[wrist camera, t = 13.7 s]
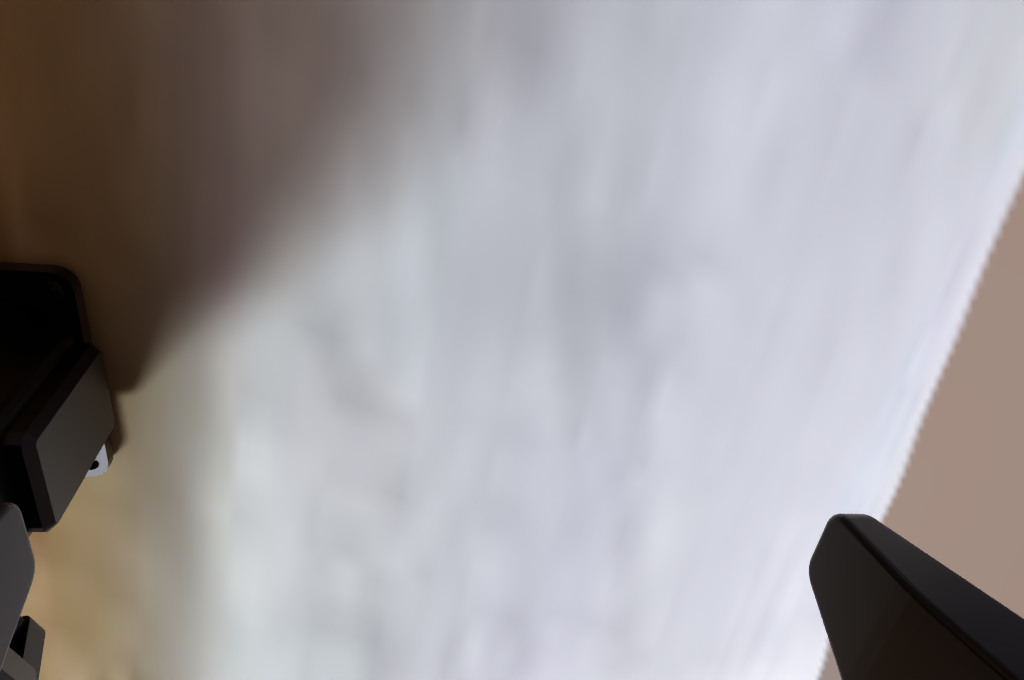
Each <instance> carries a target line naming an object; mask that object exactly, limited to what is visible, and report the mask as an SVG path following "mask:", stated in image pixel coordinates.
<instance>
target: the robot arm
mask: <svg viewBox="0 0 1024 680" xmlns="http://www.w3.org/2000/svg"><path fill="white" fill-rule="evenodd" d="M48 281H52V282H56V283H57V284H59V285H60V286H61V287H62V289H63V291H64V292H62V293H61V292H57V291H55V290H53V289H52V288H51V287H50V285H49V284H48ZM114 426H115V420H114V415H113V409H112V404H111V398H110V393H109V388H108V382H107V377H106V372H105V366H104V361H103V355H102V352H101V351H100V350H99V348H98V347H97V346H96V345H95V344H93V343H92V341H91V336H90V331H89V326H88V321H87V315H86V310H85V305H84V300H83V295H82V289H81V284H80V282H79V280H78V278H77V276H76V275H75V274H74V273H73V272H72V271H70V270H68V269H66V268H64V267H61V266H56V265H40V264H23V263H6V262H0V680H38V679H39V672H40V666H41V659H42V652H43V645H44V639H45V630H44V629H43V628H42V627H41V626H39V625H38V624H37V623H36V622H35V621H34V620H33V619H32V618H30V617H29V616H23V617H21V616H20V615H21V612H22V609H23V606H24V604H25V601H26V598H27V595H28V593H29V590H30V587H31V584H32V581H33V577H34V571H35V560H34V555H33V551H32V548H31V544H30V541H29V536H30V535H31V533H32V532H48V531H49V530H50V529H52V528H53V527H54V526H55V525H56V524H57V523H58V522H59V520H60V519H61V517H62V515H63V514H64V512H65V510H66V508H67V507H68V505H69V503H70V502H71V500H72V498H73V496H74V495H75V493H76V491H77V490H78V488H79V486H80V484H81V483H82V481H83V479H84V478H85V476H99V475H101V474H103V473H105V472H106V470H107V469H108V467H109V466H110V464H111V462H112V460H113V451H112V445H111V440H110V433H111V431H112V430H113V428H114ZM95 459H97V460H98V461H94V460H95ZM809 577H810V582H811V586H812V589H813V592H814V595H815V598H816V601H817V604H818V607H819V610H820V614H821V617H822V620H823V623H824V626H825V629H826V632H827V635H828V638H829V641H830V645H831V648H832V651H833V654H834V657H835V659H836V663H837V666H838V669H839V672H840V676H841V678H842V680H1024V619H1023V618H1021V617H1019V616H1018V615H1017V614H1015V613H1014V612H1012V611H1011V610H1009V609H1008V608H1007V607H1005V606H1004V605H1002V604H1001V603H999V602H998V601H996V600H995V599H993V598H991V597H990V596H989V595H987V594H986V593H984V592H983V591H981V590H980V589H978V588H977V587H975V586H974V585H972V584H971V583H969V582H968V581H966V580H965V579H964V578H962V577H961V576H959V575H958V574H956V573H954V572H953V571H952V570H950V569H949V568H947V567H946V566H944V565H943V564H941V563H940V562H938V561H936V560H935V559H934V558H932V557H931V556H929V555H928V554H926V553H925V552H923V551H922V550H920V549H919V548H917V547H916V546H915V545H913V544H911V543H910V542H909V541H907V540H906V539H904V538H903V537H901V536H900V535H898V534H897V533H895V532H894V531H892V530H891V529H889V528H888V527H886V526H885V525H883V524H882V523H880V522H879V521H877V520H876V519H874V518H873V517H871V516H869V515H865V514H836V515H834V516H833V517H832V518H830V519H829V521H828V522H827V525H826V527H825V529H824V531H823V533H822V536H821V538H820V540H819V542H818V544H817V547H816V549H815V551H814V553H813V555H812V558H811V560H810V565H809Z"/></svg>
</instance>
